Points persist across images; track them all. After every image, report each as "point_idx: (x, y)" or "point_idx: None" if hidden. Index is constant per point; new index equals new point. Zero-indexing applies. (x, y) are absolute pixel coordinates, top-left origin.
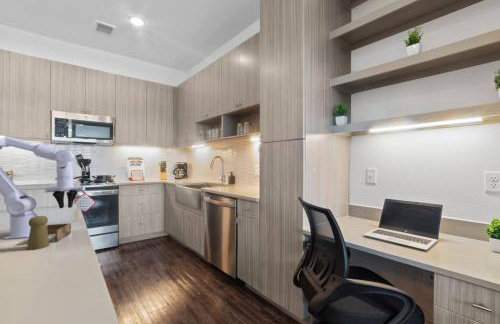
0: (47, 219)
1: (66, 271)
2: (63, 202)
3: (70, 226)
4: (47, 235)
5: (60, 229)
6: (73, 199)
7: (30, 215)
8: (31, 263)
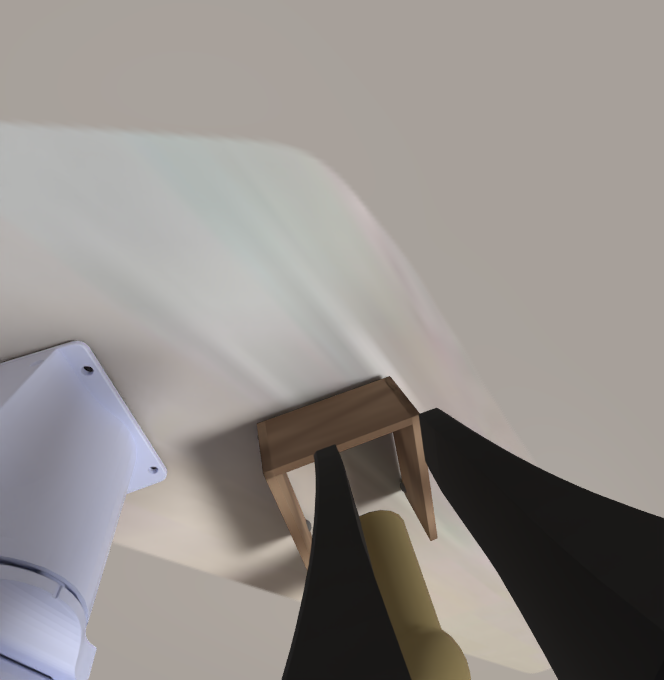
0: (466, 662)
1: None
2: (352, 503)
3: (410, 405)
4: (419, 566)
5: (432, 512)
6: (534, 481)
7: (90, 595)
8: (452, 605)
